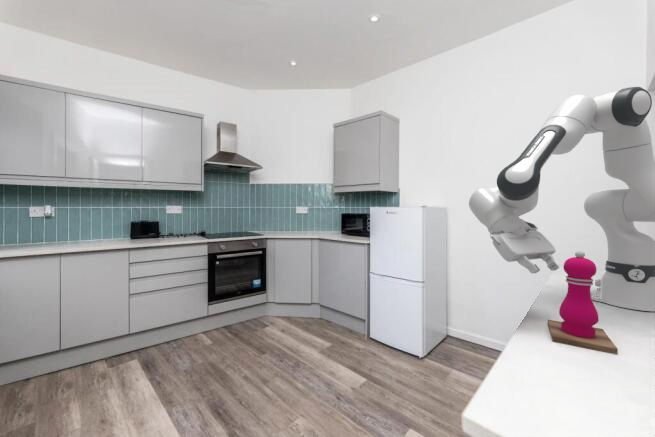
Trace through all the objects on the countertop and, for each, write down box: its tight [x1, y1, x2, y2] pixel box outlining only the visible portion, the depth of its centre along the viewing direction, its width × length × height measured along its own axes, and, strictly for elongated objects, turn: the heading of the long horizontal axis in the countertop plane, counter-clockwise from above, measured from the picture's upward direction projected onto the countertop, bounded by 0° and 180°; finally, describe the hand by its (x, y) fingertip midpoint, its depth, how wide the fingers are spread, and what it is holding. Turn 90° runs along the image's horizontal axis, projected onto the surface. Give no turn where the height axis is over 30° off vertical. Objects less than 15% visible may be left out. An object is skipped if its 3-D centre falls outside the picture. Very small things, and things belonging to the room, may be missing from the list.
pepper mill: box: [558, 250, 600, 338], centre depth 69 cm, size 7×7×20 cm
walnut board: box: [547, 319, 618, 355], centre depth 70 cm, size 13×11×1 cm
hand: (546, 270), depth 76 cm, fingers open, 8 cm apart
